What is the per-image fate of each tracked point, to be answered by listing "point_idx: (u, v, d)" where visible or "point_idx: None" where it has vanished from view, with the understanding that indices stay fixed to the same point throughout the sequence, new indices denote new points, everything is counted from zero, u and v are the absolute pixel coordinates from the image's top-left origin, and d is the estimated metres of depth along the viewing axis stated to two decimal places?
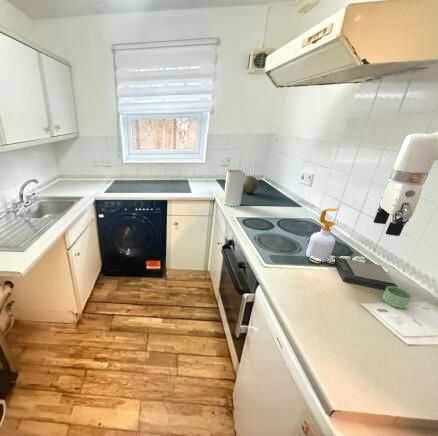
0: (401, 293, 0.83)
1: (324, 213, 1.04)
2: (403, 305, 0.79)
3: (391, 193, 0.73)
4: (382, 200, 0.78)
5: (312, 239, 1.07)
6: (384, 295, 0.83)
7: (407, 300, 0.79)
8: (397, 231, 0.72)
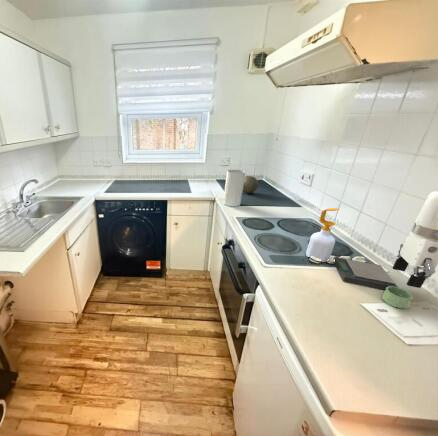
0: (401, 293, 0.83)
1: (324, 213, 1.04)
2: (403, 305, 0.79)
3: (413, 246, 0.74)
4: (402, 249, 0.79)
5: (312, 239, 1.07)
6: (384, 295, 0.83)
7: (407, 300, 0.79)
8: (418, 284, 0.73)
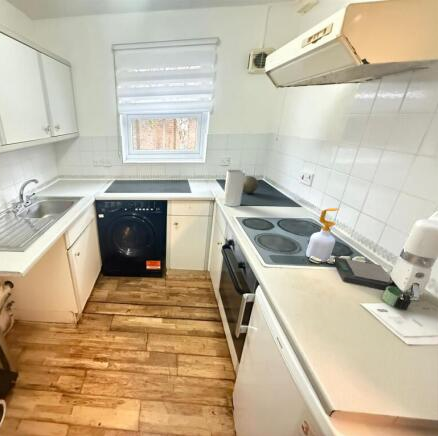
0: None
1: (324, 213, 1.04)
2: None
3: (401, 270, 0.78)
4: (392, 272, 0.83)
5: (312, 239, 1.07)
6: (384, 295, 0.83)
7: None
8: (404, 306, 0.78)
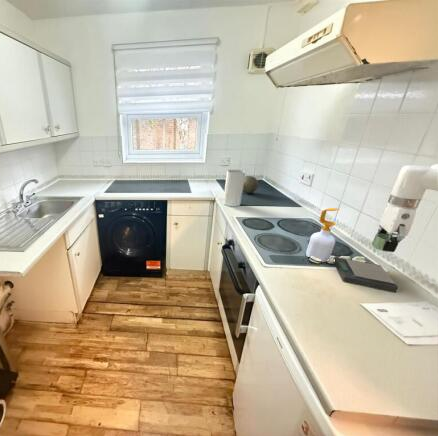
0: None
1: (324, 213, 1.04)
2: None
3: (389, 215, 0.84)
4: (381, 219, 0.89)
5: (312, 239, 1.07)
6: (374, 241, 0.90)
7: None
8: (392, 248, 0.85)
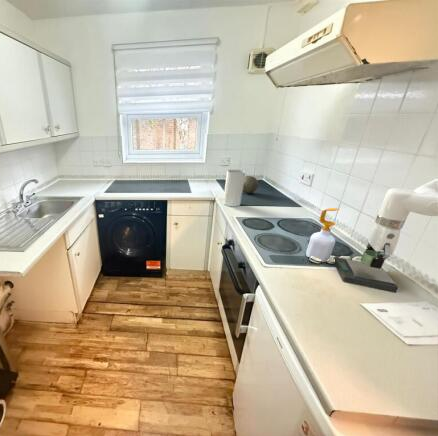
0: None
1: (324, 213, 1.04)
2: None
3: (376, 233, 0.90)
4: (369, 237, 0.94)
5: (312, 239, 1.07)
6: (362, 257, 0.95)
7: None
8: (378, 265, 0.90)
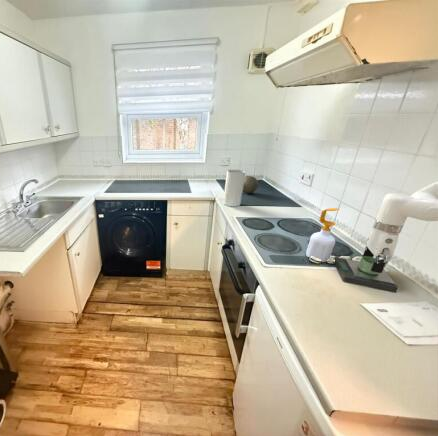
0: None
1: (324, 213, 1.04)
2: None
3: (375, 238, 0.90)
4: (368, 242, 0.95)
5: (312, 239, 1.07)
6: (360, 264, 0.96)
7: None
8: (380, 269, 0.89)
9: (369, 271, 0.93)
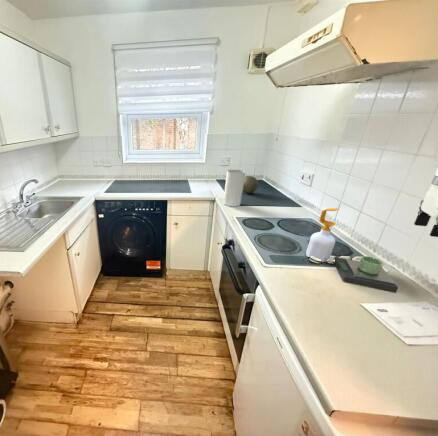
0: (374, 262, 0.96)
1: (324, 213, 1.04)
2: (375, 271, 0.92)
3: (434, 197, 0.78)
4: (423, 204, 0.83)
5: (312, 239, 1.07)
6: (360, 264, 0.96)
7: (378, 266, 0.91)
8: None
9: (369, 271, 0.93)
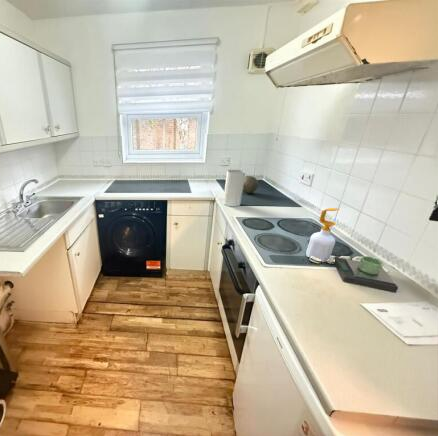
0: (374, 262, 0.96)
1: (324, 213, 1.04)
2: (375, 271, 0.92)
3: None
4: None
5: (312, 239, 1.07)
6: (360, 264, 0.96)
7: (378, 266, 0.91)
8: None
9: (369, 271, 0.93)
